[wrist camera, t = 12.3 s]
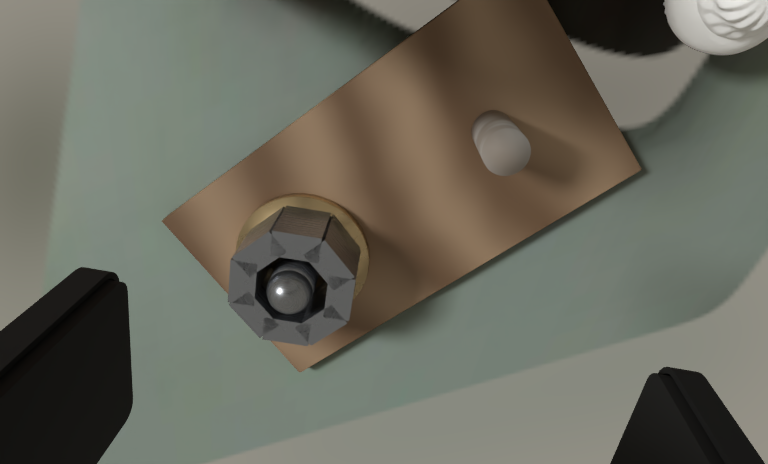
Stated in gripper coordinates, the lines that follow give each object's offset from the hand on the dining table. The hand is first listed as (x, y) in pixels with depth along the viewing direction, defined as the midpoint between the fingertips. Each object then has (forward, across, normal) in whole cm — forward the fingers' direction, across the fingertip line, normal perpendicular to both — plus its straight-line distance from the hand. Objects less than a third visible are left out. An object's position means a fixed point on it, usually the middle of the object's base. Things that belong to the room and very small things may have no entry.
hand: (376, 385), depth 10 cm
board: (+25, 0, +6) cm, 26 cm away
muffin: (+26, -14, -8) cm, 31 cm away
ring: (+23, +5, +10) cm, 26 cm away
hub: (+25, +5, +10) cm, 27 cm away
